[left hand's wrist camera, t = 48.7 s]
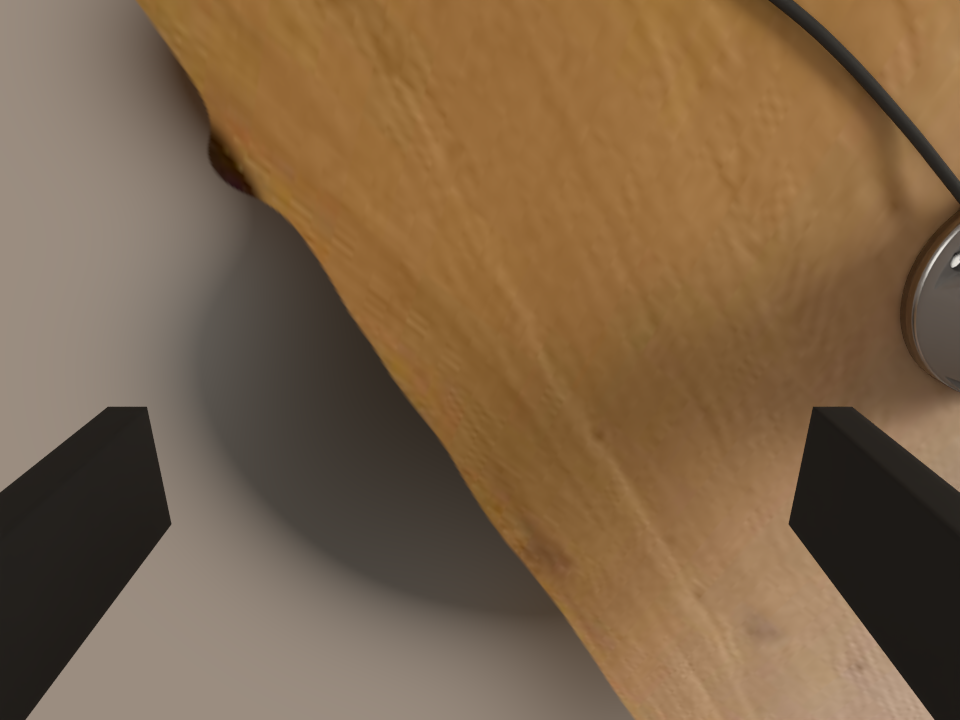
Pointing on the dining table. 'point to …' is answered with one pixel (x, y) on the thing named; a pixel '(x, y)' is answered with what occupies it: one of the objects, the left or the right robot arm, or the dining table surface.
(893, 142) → the dining table surface
